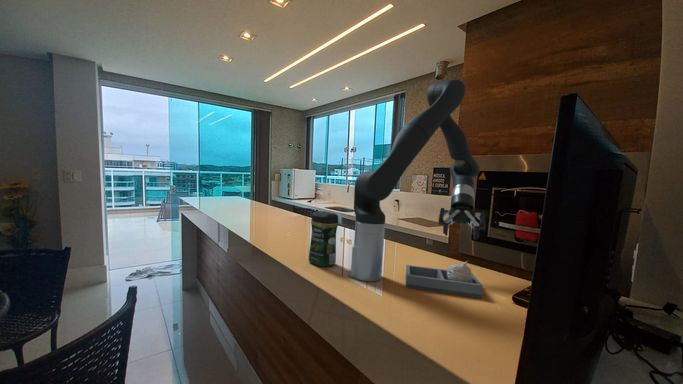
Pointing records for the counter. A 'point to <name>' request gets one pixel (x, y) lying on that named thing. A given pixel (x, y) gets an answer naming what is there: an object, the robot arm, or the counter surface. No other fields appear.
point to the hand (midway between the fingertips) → (460, 236)
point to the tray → (440, 282)
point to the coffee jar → (323, 238)
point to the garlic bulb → (459, 272)
